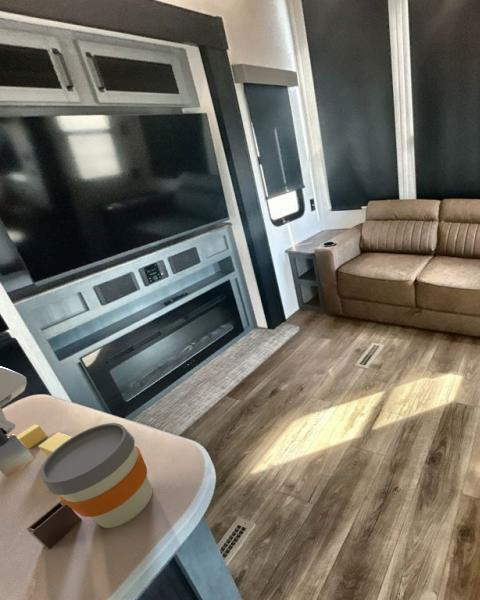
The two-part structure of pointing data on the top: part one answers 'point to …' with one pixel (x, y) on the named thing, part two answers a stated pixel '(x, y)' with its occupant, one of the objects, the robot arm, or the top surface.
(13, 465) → the knife
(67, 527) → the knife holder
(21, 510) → the top surface
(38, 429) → the butter slice
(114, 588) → the top surface
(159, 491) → the top surface
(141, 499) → the reusable coffee cup
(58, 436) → the butter stick
